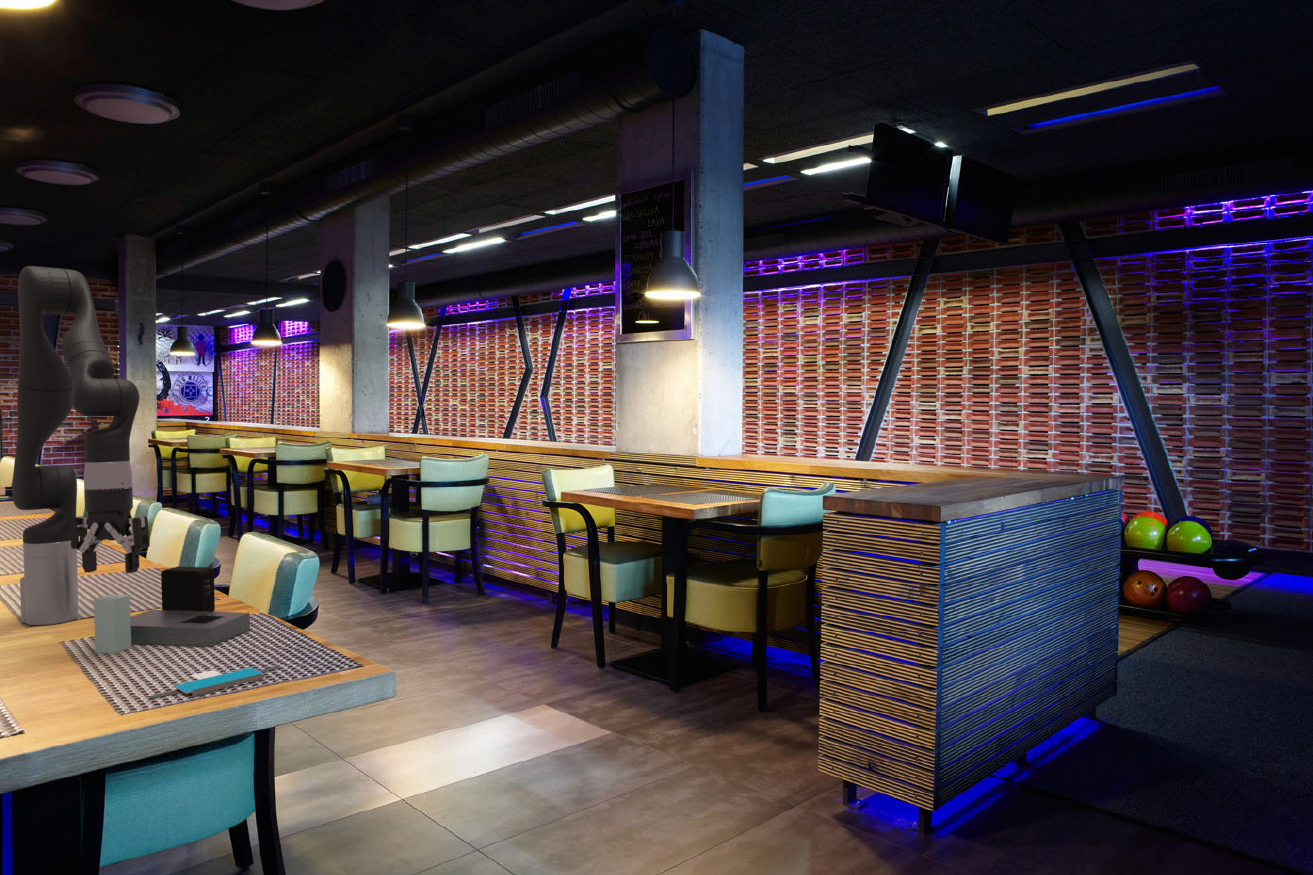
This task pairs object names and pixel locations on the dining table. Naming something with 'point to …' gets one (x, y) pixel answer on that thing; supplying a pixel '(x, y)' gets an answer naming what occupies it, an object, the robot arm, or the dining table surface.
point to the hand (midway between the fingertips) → (111, 572)
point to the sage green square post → (112, 623)
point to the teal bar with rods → (216, 681)
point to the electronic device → (188, 589)
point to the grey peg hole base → (187, 627)
